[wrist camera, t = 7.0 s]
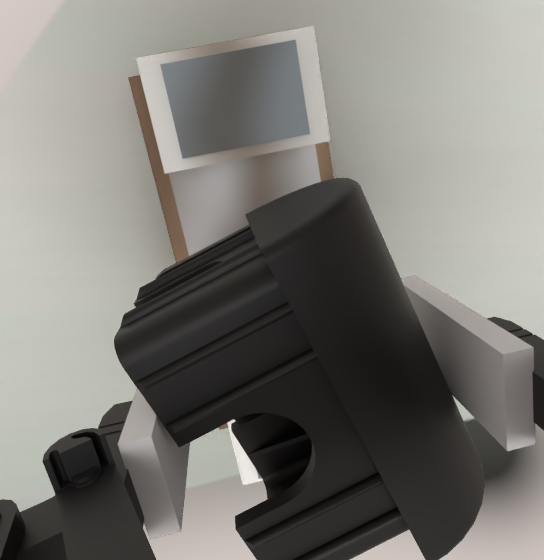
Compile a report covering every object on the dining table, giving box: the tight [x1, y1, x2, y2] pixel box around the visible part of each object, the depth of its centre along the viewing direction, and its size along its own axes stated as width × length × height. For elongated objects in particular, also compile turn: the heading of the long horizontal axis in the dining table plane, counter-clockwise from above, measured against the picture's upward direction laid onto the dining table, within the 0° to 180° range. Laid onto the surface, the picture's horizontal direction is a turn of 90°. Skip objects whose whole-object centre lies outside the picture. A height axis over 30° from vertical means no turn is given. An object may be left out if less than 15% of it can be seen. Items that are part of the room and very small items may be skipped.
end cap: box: [114, 178, 485, 560], centre depth 14 cm, size 10×7×7 cm
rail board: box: [128, 26, 333, 485], centre depth 27 cm, size 11×24×9 cm, turn 11°
